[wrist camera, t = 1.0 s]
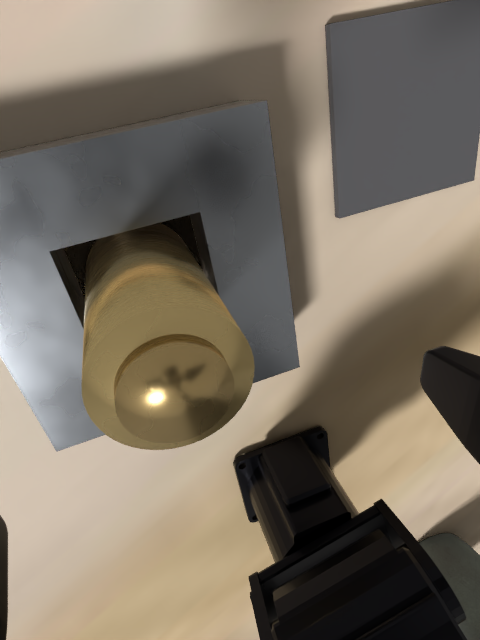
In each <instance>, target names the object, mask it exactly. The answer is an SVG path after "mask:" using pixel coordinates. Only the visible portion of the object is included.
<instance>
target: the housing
mask: <svg viewBox="0 0 480 640" xmlns="http://www.w3.org/2000/svg"><path fill="white" fill-rule="evenodd" d="M186 215H190V218H191V222H192V227H193V231H194V235H195V239H196V243H197V247H198V252H199V256H200V260H201V264H202V268H203V272H204V274H205V275H206V277H207V278H208V280H209V281H210V283H211V284H212V286H213V288H214V289H215V291H216V292H217V294H218V295H219V297H220V299H221V300H222V302H223V303H224V305H225V306H226V308H227V309H228V311H229V313H230V314H231V316H232V317H233V319H234V320H235V322H236V323H237V325H238V327H239V328H240V330H241V331H242V333H243V334H244V336H245V337H246V339H247V341H248V343H249V345H250V347H251V350H252V353H253V357H254V365H255V367H254V378H253V383H255V382H258V381H261V380H264V379H266V378H269V377H272V376H275V375H278V374H281V373H284V372H287V371H289V370H292V369H295V368H298V367H300V366H299V358H298V350H297V342H296V333H295V325H294V317H293V309H292V301H291V293H290V284H289V276H288V268H287V260H286V252H285V244H284V236H283V227H282V219H281V211H280V203H279V195H278V187H277V178H276V170H275V162H274V154H273V146H272V138H271V130H270V121H269V113H268V105H267V100H240V101H235V102H231V103H226V104H222V105H217V106H212V107H208V108H203V109H199V110H194V111H189V112H185V113H180V114H176V115H171V116H166V117H162V118H157V119H152V120H148V121H143V122H139V123H134V124H129V125H125V126H120V127H116V128H111V129H106V130H102V131H97V132H92V133H88V134H83V135H79V136H74V137H69V138H65V139H60V140H56V141H51V142H46V143H42V144H37V145H32V146H28V147H23V148H19V149H14V150H9V151H5V152H0V356H1V358H2V360H3V361H4V363H5V365H6V367H7V368H8V370H9V372H10V373H11V375H12V377H13V378H14V380H15V382H16V384H17V385H18V387H19V389H20V390H21V392H22V394H23V395H24V397H25V399H26V400H27V402H28V404H29V406H30V407H31V409H32V411H33V412H34V414H35V416H36V417H37V419H38V421H39V423H40V424H41V426H42V428H43V429H44V431H45V433H46V434H47V436H48V438H49V439H50V441H51V443H52V445H53V446H54V448H55V450H56V451H60V450H63V449H65V448H68V447H71V446H74V445H77V444H80V443H83V442H86V441H88V440H91V439H94V438H97V437H100V436H103V435H106V434H104V433H103V432H102V431H101V430H100V429H99V428H98V427H97V426H96V425H95V424H94V423H93V422H92V420H91V418H90V417H89V415H88V413H87V411H86V409H85V406H84V403H83V398H82V361H83V335H84V310H85V298H84V295H83V293H82V291H81V288H80V286H79V283H78V281H77V279H76V276H75V274H74V272H73V269H72V267H71V264H70V262H69V260H68V257H67V255H66V252H65V250H64V248H65V247H69V246H72V245H76V244H80V243H84V242H88V241H91V240H95V239H99V238H103V237H107V236H110V235H114V234H118V233H122V232H126V231H129V230H133V229H137V228H141V227H145V226H148V225H152V224H156V223H160V222H164V221H167V220H171V219H175V218H179V217H183V216H186Z"/></svg>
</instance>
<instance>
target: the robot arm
mask: <svg viewBox="0 0 480 640" xmlns="http://www.w3.org/2000/svg"><path fill="white" fill-rule="evenodd" d="M420 382H421V386H422V388H423V390H424V391H425V393H426V394H427V396H428V397H429V398H430V400H431V401H432V403H433V404H434V405H435V407H436V408H437V410H438V411H439V412H440V414H441V415H442V417H443V418H444V419H445V421H446V422H447V423H448V425H449V426H450V428H451V429H452V430H453V432H454V433H455V435H456V436H457V437H458V439H459V440H460V441H461V443H462V444H463V445H464V447H465V448H466V449H467V450H468V451H469V453H470V454H471V455H472V456H473V457H474V458H475V460H476V461H477V462H478V463H479V464H480V356H477V355H474V354H470V353H467V352H464V351H460V350H457V349H453V348H450V347H447V346H440V347H437V348H434V349H430V350H428V351H426V353H425V354H424V357H423V364H422V370H421V377H420ZM242 463H243V464H242ZM233 465H234V469H235V472H236V476H237V480H238V484H239V487H240V491H241V495H242V498H243V502H244V506H245V509H246V513H247V516H248V519H249V521H250V522H257V521H259V523H260V526H261V528H262V531H263V533H264V536H265V538H266V541H267V543H268V546H269V549H270V551H271V554H272V556H273V559H274V561H275V563H274V564H273V565H271V566H269V567H267V568H266V569H264V570H262V571H261V572H259V573H258V572H255V573H254V574H252V575H250V576H249V582H250V586H251V592H250V599H251V602H252V605H253V610H254V614H255V619H256V623H257V628H258V632H259V637H260V640H467V638H466V637H465V635H464V634H463V632H462V630H461V629H460V627H459V626H458V624H460V623H462V622H463V621H465V620H466V615H465V612H464V610H463V608H462V606H461V604H460V602H459V600H458V599H457V597H456V595H455V593H454V592H453V590H452V588H451V587H450V585H449V584H448V582H447V581H446V579H445V577H444V576H443V574H442V573H441V572H440V570H439V569H438V567H437V566H436V564H435V563H434V562H433V560H432V559H431V558H430V556H429V555H428V554H427V552H426V551H425V550H424V549H423V547H422V546H421V545H420V544H419V543H418V541H417V540H416V539H415V538H414V537H413V536H412V534H411V533H410V532H409V531H408V530H407V528H406V527H405V526H404V525H403V524H402V522H401V521H400V520H399V519H398V518H397V516H396V515H395V514H394V513H393V512H392V510H391V509H390V508H389V507H388V506H387V504H386V503H385V502H384V501H383V500H382V499H380V500H378V501H377V502H375V503H374V505H373V506H372V507H370V508H368V509H366V510H365V511H363V512H361V513H360V514H359V513H358V511H357V510H356V508H355V506H354V505H353V503H352V502H351V500H350V499H349V497H348V496H347V494H346V492H345V491H344V489H343V488H342V486H341V485H340V483H339V482H338V480H337V478H336V477H335V475H334V474H333V472H332V471H331V469H330V460H329V448H328V437H327V432H326V430H325V429H324V428H323V427H321V426H319V427H315V428H313V429H310V430H308V431H305V432H302V433H300V434H297V435H294V436H292V437H289V438H286V439H284V440H281V441H279V442H276V443H273V444H271V445H268V446H265V447H263V448H260V449H258V450H255V451H252V452H250V453H247V454H244V455H242V456H239V457H237V458H236V459H235V460H234V462H233ZM7 617H8V532H7V527H6V524H5V522H4V520H3V518H2V517H1V516H0V640H6V634H7Z"/></svg>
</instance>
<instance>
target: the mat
mask: <svg viewBox="0 0 480 640" xmlns="http://www.w3.org/2000/svg"><path fill="white" fill-rule="evenodd" d="M325 31H326V50H327V69H328V88H329V107H330V126H331V144H332V163H333V182H334V201H335V217H337V218H343V217H346V216H350V215H353V214H357V213H360V212H364V211H367V210H371V209H374V208H378V207H382V206H385V205H389V204H392V203H396V202H399V201H403V200H406V199H410V198H413V197H417V196H420V195H424V194H427V193H431V192H434V191H438V190H441V189H445V188H449V187H452V186H456V185H459V184H463V183H466V182H470V181H473V180H474V176H475V168H476V159H477V151H478V143H479V134H480V0H453V1H448V2H442V3H437V4H432V5H426V6H421V7H416V8H411V9H405V10H400V11H395V12H389V13H384V14H379V15H374V16H368V17H363V18H358V19H353V20H347V21H342V22H337V23H331V24H328V25H325Z"/></svg>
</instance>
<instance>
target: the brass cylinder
mask: <svg viewBox="0 0 480 640" xmlns="http://www.w3.org/2000/svg"><path fill="white" fill-rule="evenodd" d="M254 367H255V365H254V357H253V353H252V350H251V347H250V345H249V343H248V341H247V339H246V337H245V336H244V334H243V333H242V331H241V330H240V328H239V327H238V325H237V323H236V322H235V320H234V319H233V317H232V316H231V314H230V313H229V311H228V309H227V308H226V306H225V305H224V303H223V302H222V300H221V299H220V297H219V295H218V294H217V292H216V291H215V289H214V288H213V286H212V284H211V283H210V281H209V280H208V278H207V277H206V275H205V274H204V272H203V270H202V269H201V267H200V266H199V264H198V263H197V261H196V260H195V258H194V256H193V255H192V253H191V252H190V250H189V249H188V247H187V246H186V244H185V242H184V241H183V240H182V238H181V237H180V236H179V235H178V234H177V233H176V232H174V231H173V230H172V229H170V228H169V227H167V226H165V225H163V224H161V223H156V224H152V225H148V226H145V227H141V228H137V229H133V230H129V231H126V232H122V233H118V234H114V235H110V236H107V237H103V238H99V239H96V241H95V242H94V244H93V245H92V247H91V249H90V252H89V254H88V258H87V264H86V284H85V310H84V335H83V361H82V398H83V403H84V406H85V409H86V411H87V413H88V415H89V417H90V418H91V420H92V422H93V423H94V424H95V425H96V426H97V427H98V428H99V429H100V430H101V431H102V432H103V433H104V434H106V435H107V436H109V437H110V438H112V439H113V440H115V441H118V442H120V443H122V444H125V445H128V446H131V447H135V448H140V449H149V450H164V449H172V448H177V447H182V446H186V445H189V444H192V443H195V442H197V441H199V440H202V439H204V438H206V437H208V436H209V435H211V434H213V433H214V432H216V431H217V430H219V429H220V428H222V427H223V426H224V425H225V424H227V423H228V422H229V421H230V420H231V419H232V418H233V417H234V416H235V415H236V413H237V412H238V411H239V410H240V408H241V407H242V405H243V404H244V402H245V401H246V399H247V397H248V395H249V392H250V390H251V387H252V384H253V378H254Z"/></svg>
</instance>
